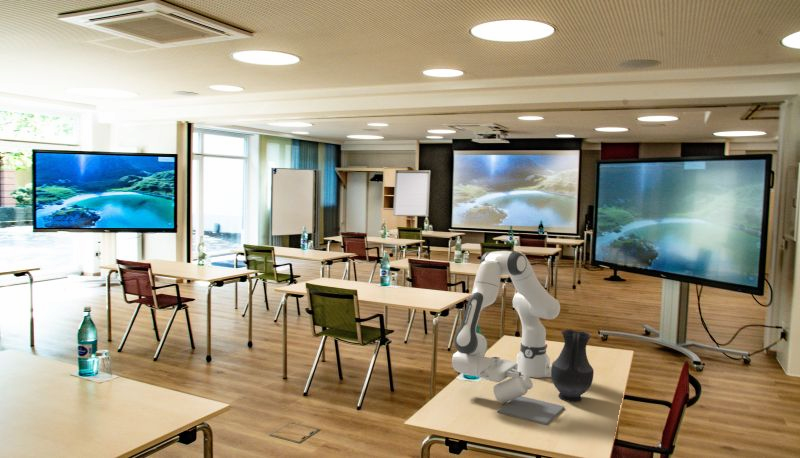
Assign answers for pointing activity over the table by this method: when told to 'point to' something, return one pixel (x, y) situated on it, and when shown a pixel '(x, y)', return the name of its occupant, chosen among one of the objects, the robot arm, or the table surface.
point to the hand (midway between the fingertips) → (520, 374)
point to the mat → (531, 410)
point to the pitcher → (572, 367)
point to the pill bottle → (512, 388)
